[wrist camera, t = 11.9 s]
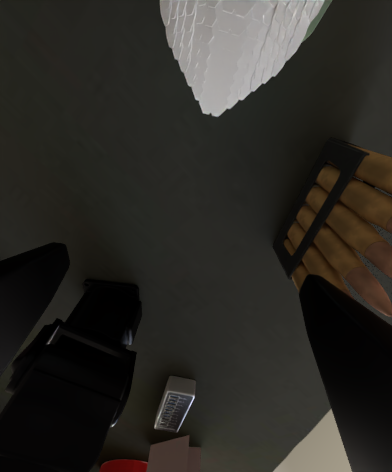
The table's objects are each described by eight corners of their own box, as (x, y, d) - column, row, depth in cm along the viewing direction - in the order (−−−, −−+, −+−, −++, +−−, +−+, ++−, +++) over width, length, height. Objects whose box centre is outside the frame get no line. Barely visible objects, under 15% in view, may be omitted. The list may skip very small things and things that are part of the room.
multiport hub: (196, 380, 36) (195, 396, 34) (178, 418, 44) (177, 433, 42) (169, 375, 36) (167, 390, 34) (156, 414, 43) (153, 428, 41)
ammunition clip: (329, 136, 18) (497, 184, 7) (350, 143, 18) (547, 198, 7) (272, 247, 23) (321, 365, 13) (289, 251, 23) (352, 371, 13)
